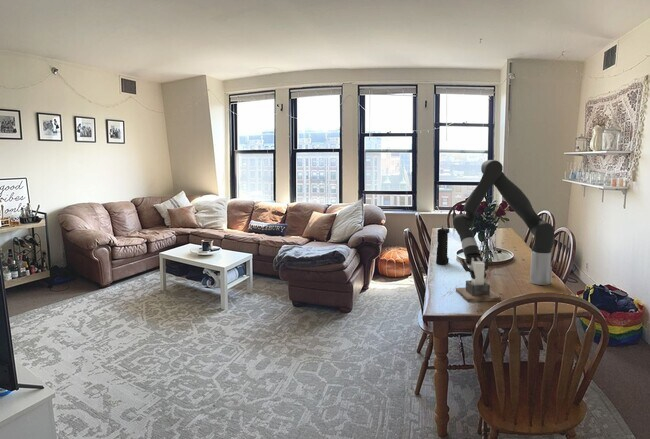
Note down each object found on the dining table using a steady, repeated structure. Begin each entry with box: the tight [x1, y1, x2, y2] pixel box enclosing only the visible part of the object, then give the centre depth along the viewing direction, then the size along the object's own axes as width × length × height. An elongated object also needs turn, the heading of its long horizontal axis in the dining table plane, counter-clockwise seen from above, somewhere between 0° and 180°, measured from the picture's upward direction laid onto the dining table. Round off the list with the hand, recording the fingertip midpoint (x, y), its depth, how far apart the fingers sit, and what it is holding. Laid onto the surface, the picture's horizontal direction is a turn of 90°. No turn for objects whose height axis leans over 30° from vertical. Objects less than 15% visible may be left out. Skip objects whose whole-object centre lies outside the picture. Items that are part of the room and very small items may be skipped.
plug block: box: [470, 261, 485, 285], centre depth 200 cm, size 4×4×14 cm
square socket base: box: [455, 279, 502, 303], centre depth 201 cm, size 16×16×6 cm
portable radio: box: [435, 225, 450, 266], centre depth 259 cm, size 8×6×25 cm
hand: (479, 278), depth 198 cm, fingers closed on plug block, 4 cm apart
